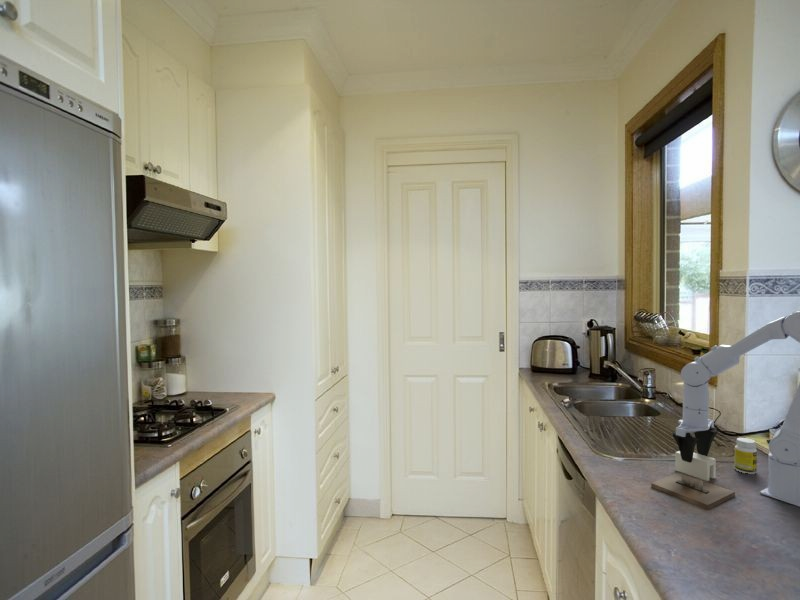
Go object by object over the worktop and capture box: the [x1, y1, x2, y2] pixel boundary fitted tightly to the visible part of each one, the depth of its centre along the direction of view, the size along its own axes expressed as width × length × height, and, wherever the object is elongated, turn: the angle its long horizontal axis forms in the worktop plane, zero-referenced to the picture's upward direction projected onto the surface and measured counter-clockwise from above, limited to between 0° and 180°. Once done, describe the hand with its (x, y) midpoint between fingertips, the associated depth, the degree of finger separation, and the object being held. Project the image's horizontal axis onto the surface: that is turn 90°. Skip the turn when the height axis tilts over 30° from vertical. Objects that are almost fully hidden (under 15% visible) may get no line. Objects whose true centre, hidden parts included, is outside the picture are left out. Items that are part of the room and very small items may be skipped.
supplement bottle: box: [734, 437, 758, 475], centre depth 120 cm, size 5×5×8 cm
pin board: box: [650, 471, 736, 510], centre depth 110 cm, size 13×12×3 cm
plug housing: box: [674, 450, 717, 482], centre depth 119 cm, size 8×4×5 cm, turn 29°
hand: (694, 458), depth 119 cm, fingers open, 7 cm apart
